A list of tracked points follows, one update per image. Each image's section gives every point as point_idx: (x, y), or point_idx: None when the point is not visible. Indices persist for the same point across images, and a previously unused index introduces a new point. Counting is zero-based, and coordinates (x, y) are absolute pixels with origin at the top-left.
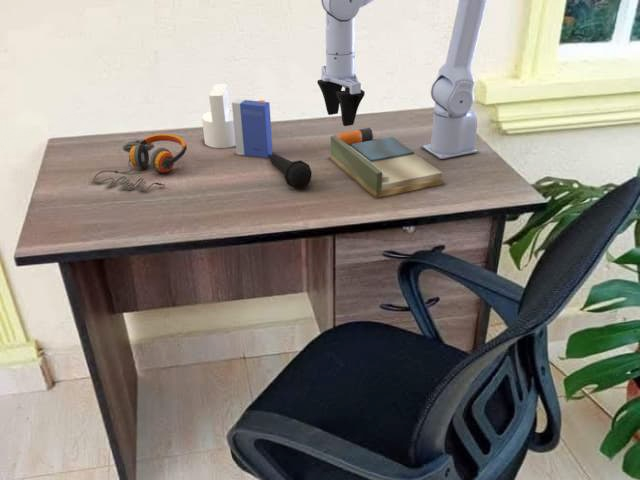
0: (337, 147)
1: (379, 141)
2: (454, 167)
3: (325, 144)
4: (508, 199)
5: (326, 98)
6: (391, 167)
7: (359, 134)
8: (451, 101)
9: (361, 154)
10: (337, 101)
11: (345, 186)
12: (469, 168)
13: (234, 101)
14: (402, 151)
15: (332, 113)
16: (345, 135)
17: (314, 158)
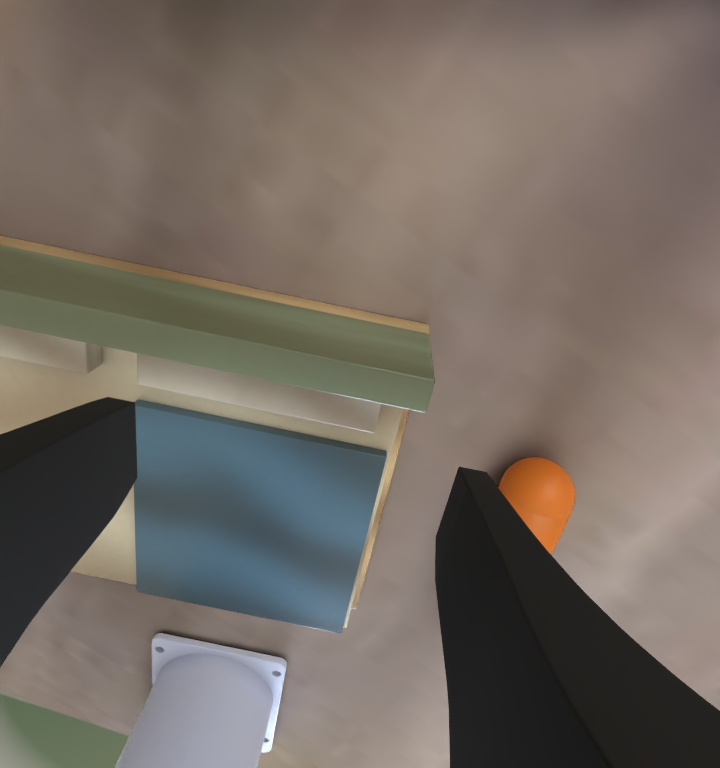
0: (323, 341)
1: (326, 569)
2: (80, 618)
3: (615, 421)
4: None
5: (503, 585)
6: None
7: None
8: None
9: (251, 422)
10: (451, 639)
11: (65, 164)
12: (54, 640)
13: None
14: (162, 564)
15: (448, 501)
16: (519, 512)
17: (501, 256)
